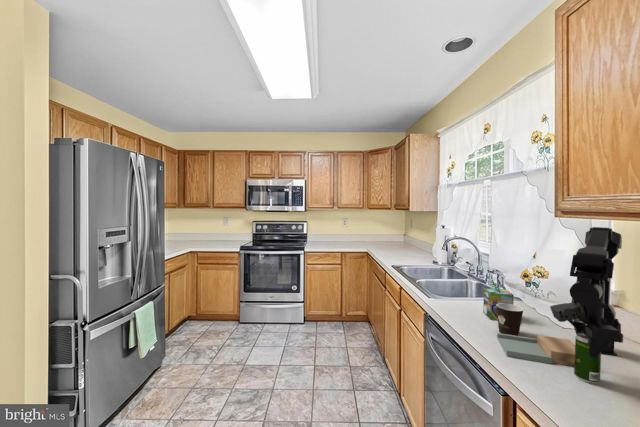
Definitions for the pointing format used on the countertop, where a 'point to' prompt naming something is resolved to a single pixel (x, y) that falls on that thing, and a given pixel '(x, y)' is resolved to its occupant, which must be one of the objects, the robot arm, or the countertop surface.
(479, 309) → the countertop surface
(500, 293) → the chalk box
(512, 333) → the coffee mug
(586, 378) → the beer can
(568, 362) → the tan block
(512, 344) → the grey-green tray
